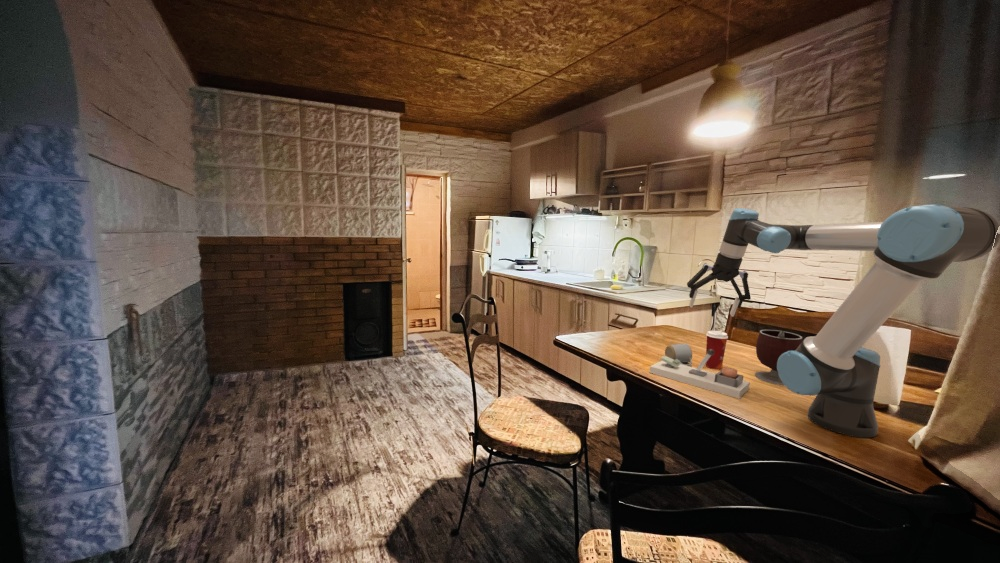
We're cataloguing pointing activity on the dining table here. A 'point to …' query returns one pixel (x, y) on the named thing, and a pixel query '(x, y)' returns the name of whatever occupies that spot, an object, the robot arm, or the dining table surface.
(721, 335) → the paper cup
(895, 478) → the dining table surface
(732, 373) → the terracotta button
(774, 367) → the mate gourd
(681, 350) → the ceramic mug
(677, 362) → the green rocker
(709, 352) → the metal lever
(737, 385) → the panel
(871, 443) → the dining table surface
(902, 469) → the dining table surface
